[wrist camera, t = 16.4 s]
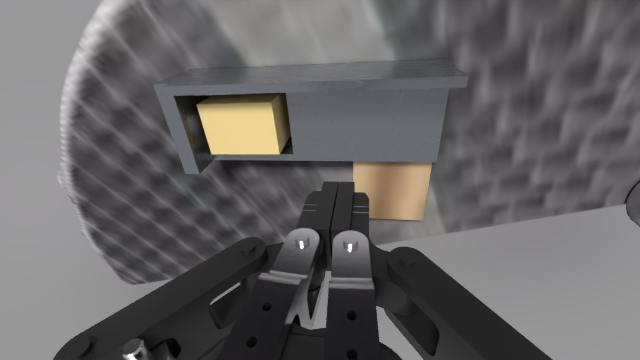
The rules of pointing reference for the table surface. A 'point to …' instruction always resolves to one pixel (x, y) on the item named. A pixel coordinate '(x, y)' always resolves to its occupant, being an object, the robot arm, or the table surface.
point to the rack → (324, 109)
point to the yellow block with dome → (245, 123)
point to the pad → (393, 188)
